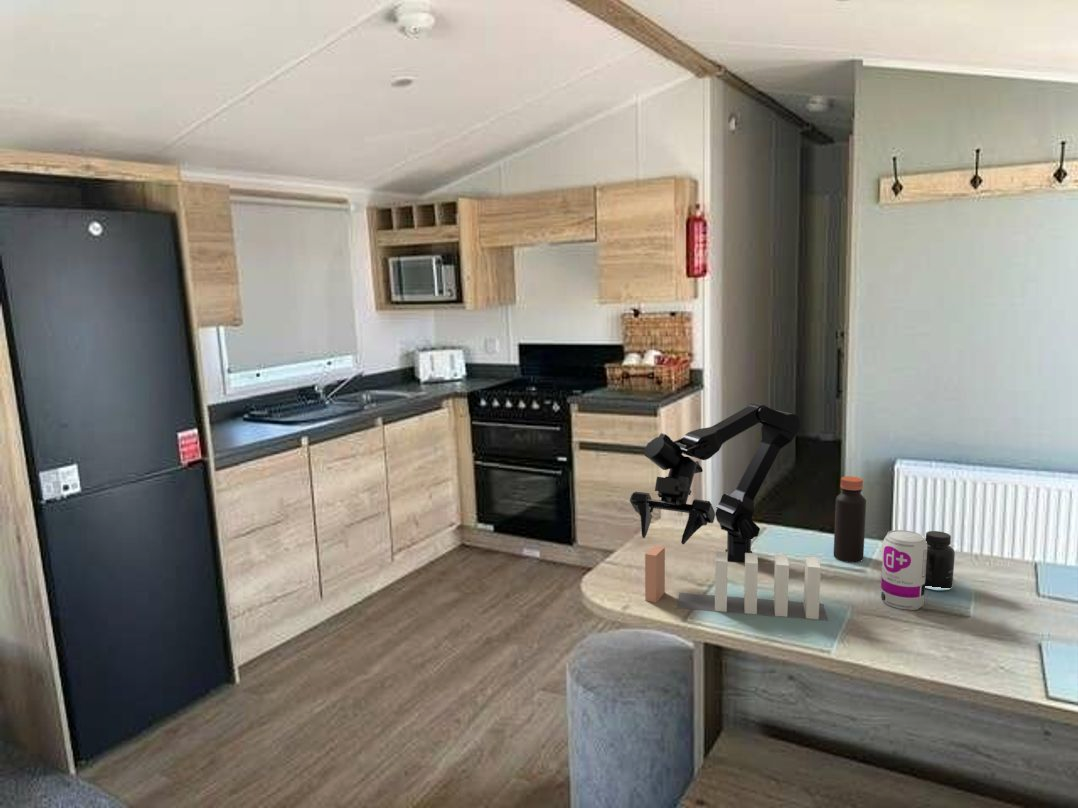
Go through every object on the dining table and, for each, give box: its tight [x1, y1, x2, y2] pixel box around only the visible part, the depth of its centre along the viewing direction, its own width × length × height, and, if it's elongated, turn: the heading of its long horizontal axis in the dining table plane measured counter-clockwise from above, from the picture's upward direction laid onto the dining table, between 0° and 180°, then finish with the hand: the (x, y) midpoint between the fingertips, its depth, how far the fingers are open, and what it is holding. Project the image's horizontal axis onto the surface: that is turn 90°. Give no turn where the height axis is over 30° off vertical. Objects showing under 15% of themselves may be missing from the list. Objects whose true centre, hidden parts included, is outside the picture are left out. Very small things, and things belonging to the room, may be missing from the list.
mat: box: [676, 592, 829, 622], centre depth 157 cm, size 8×30×1 cm, turn 76°
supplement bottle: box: [924, 530, 956, 589], centre depth 165 cm, size 7×7×12 cm
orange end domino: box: [644, 545, 666, 604], centre depth 162 cm, size 2×6×11 cm, turn 151°
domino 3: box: [773, 554, 790, 618], centre depth 154 cm, size 2×6×11 cm, turn 166°
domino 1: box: [714, 550, 728, 613], centre depth 157 cm, size 2×6×11 cm, turn 166°
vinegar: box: [833, 476, 867, 563], centre depth 181 cm, size 7×7×20 cm
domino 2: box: [743, 552, 759, 615], centre depth 156 cm, size 2×6×11 cm, turn 166°
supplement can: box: [879, 529, 927, 611], centre depth 156 cm, size 8×8×15 cm
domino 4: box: [803, 556, 822, 620], centre depth 153 cm, size 2×6×11 cm, turn 166°
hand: (662, 540), depth 166 cm, fingers open, 9 cm apart
